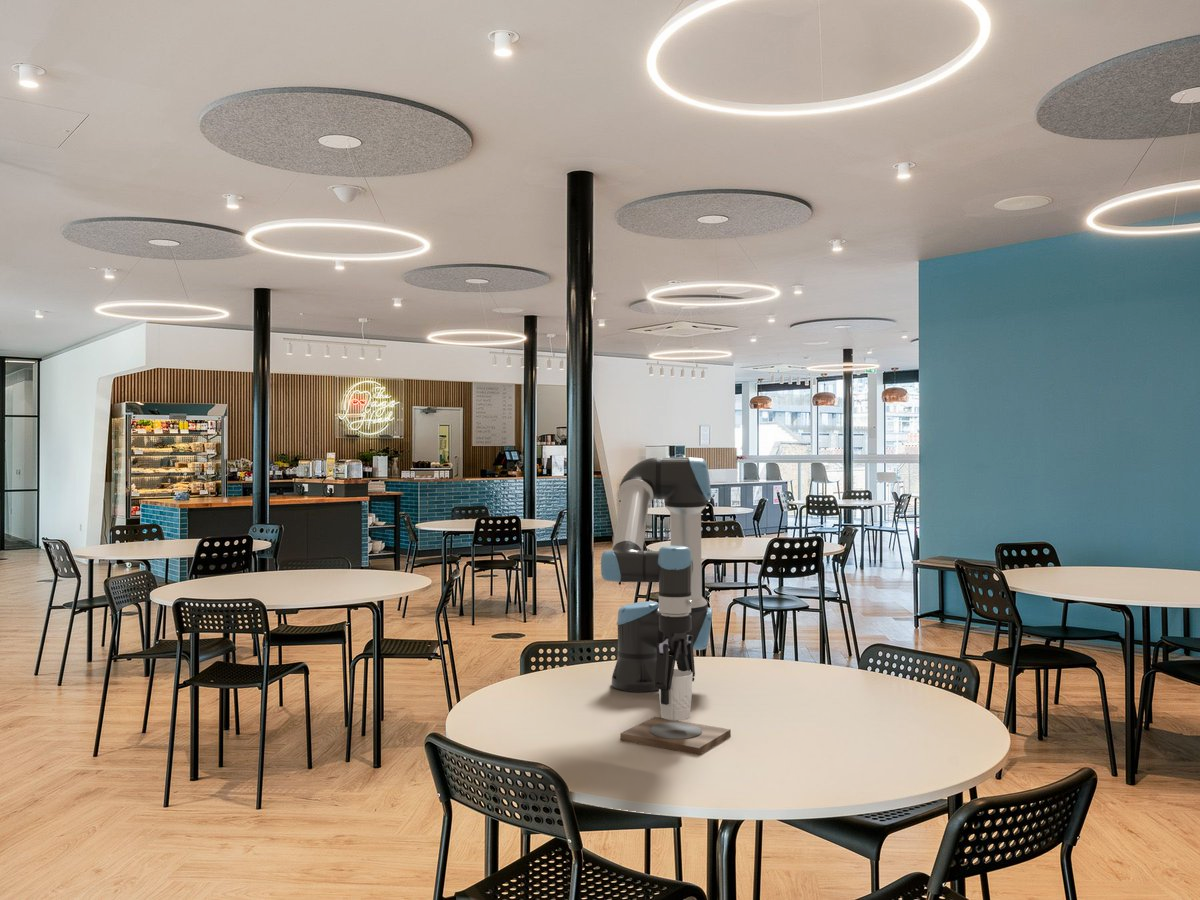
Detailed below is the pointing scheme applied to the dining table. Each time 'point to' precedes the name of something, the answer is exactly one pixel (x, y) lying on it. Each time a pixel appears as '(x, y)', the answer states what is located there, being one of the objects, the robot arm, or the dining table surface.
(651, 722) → the board
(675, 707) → the white cup
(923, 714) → the dining table surface
